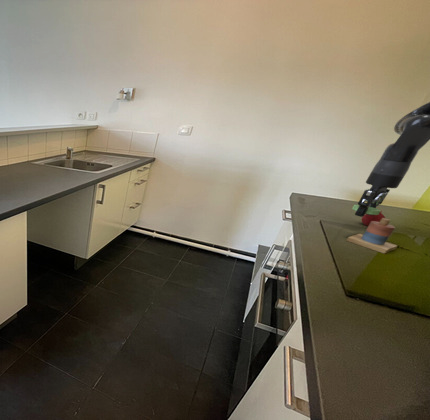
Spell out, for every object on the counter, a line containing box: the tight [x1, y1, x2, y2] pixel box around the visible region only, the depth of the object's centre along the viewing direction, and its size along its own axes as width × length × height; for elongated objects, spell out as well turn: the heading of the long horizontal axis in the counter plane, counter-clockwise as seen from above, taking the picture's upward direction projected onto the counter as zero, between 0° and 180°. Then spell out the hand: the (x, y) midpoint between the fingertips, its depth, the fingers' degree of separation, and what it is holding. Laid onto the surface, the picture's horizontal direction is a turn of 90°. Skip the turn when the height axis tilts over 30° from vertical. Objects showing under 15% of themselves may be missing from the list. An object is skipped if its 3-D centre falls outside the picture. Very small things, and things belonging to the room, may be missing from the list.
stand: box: [346, 217, 398, 255], centre depth 84 cm, size 9×9×10 cm
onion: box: [361, 210, 386, 227], centre depth 98 cm, size 6×6×8 cm
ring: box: [351, 204, 382, 215], centre depth 94 cm, size 7×7×2 cm
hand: (362, 214), depth 95 cm, fingers closed on ring, 6 cm apart
